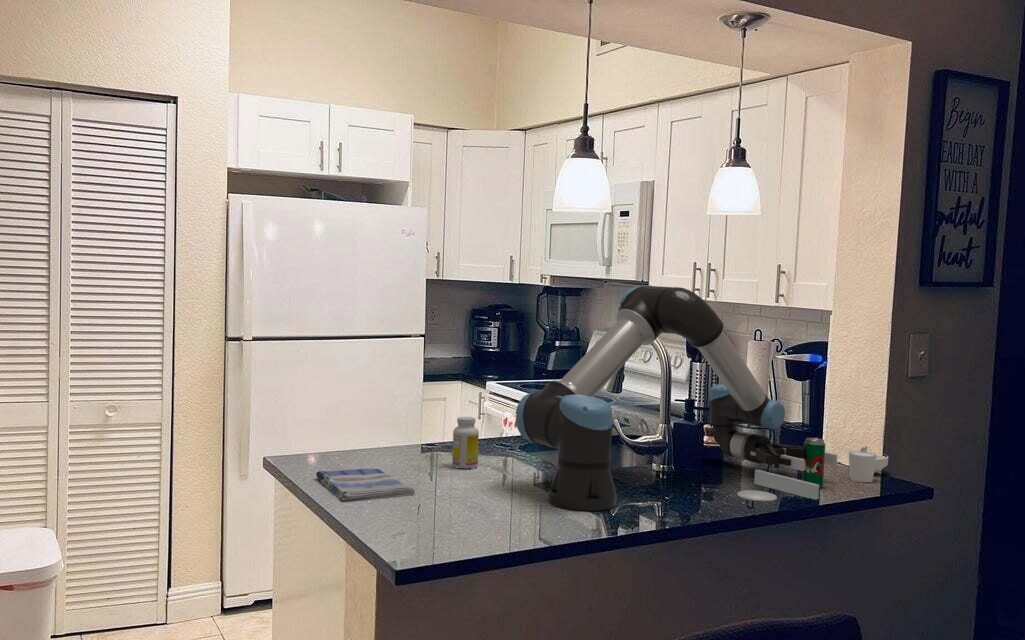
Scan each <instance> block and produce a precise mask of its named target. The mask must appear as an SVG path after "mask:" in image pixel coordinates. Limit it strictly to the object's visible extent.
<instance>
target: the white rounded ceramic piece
mask: <svg viewBox="0 0 1025 640" xmlns="http://www.w3.org/2000/svg"><path fill="white" fill-rule="evenodd" d="M864 447H865V448H864ZM849 452H867V453H868V451H867V446H863V447H861V449H860V451H856V450H854V449H853V450H848V453H849ZM871 454H872V453H871ZM888 464H889V455H887V457H885V456H877V457H876V463H875V469H874V474H878V473H879V472H881V471H882V470H883V469H884V468H885V467H887V466H888Z"/></svg>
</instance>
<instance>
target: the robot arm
mask: <svg viewBox="0 0 1025 640" xmlns="http://www.w3.org/2000/svg"><path fill="white" fill-rule="evenodd" d="M619 304H620V305H619V306H618V309H617V314H616V322H615V323H614V324H613V325H612V327H610V328H609V329H608V330H607V331H606V333H605V334H604V335H603V336H602V337H601V338H599V340H598V341H597V342H595V344H593V346H592V347H591V348H590V349H589V350H588V351H587V352H586V353H585V354H584V356H582V357H581V358H580V359H579V360H578V361H577V363H575V365H573V366H572V367H571V369H570V370H569V371H568V372H567V373H566V374H564V376H563V377H562V378H561V379H560V380H551V381H550V382H548V383H547V384H546V385H545V386H544V388H542V390H541V391H540V392H537V391H534V392H529V393H527V394H525V395H524V396H523V397H522V398H521V399H520V400H519V402H518V404H517V406H516V410H515V425H516V428H517V430H518V433H519V434H520V435H521V436H522V437H523V438H524V439H526V440H527V441H530V442H532V443H533V444H536V445H543V446H546V447H549V448H553V449H556V450H558V456H557V457H558V458H557V459H558V460H557V468H556V471H555V474H554V476H553V480H552V482H551V484H550V487H549V491H548V502H549V503H550V504H552V505H554V506H556V507H559V508H563V509H567V510H575V511H593V512H594V511H604V510H608V509H612V508H614V507H616V506H617V499H618V498H617V496H618V495H617V490H616V487H615V483H614V480H613V476H612V472H611V457H612V456H611V454H612V437H613V436H612V435H613V423H614V420H613V410H612V406H611V405H610V403H608V402H607V401H605V400H603V399H602V398H599V397H595V396H597V394H598V393H599V392H600V391H601V390H602V389H603V388H604V386H605V385H606V384H608V382H610V380H611V379H612V378H613V377H614V376H615V375H616V374H617V373H618V372H619V370H620V369H621V368H623V366H624V365H625V364H626V363H627V362H628V360H629V359H630V358H632V356H633V355H635V353H636V352H637V351H638V350H639V349H640V348H641V347H642V346H650V345H652V344H653V343H654V342H655V340H656V339H658V337H659V336H660V335H661V334H672V335H673V334H675V335H678V336H680V337H682V338H684V339H685V340H686V341H687V342H688V344H689V345H690V346H691V347H693V348H697V349H698V351H699V352H700V353H701V355H702V356H703V357H704V359H705V361H706V362H707V363H708V365H709V366H710V368H711V369H712V370H713V372H714V373H715V374H716V376H717V377H718V378H719V380H720V381H721V384H713V385H712V386H711V387H710V389H709V390H710V392H709V424H708V425H707V426H711V427H712V426H713V428H714V429H716V433H714V439H715V441H716V442H717V443H718V444H719V445H720V447H721V450H722V455H723V456H726V457H732V458H734V459H735V458H736V459H740V462H744V461H747V462H748V461H749V462H752V463H755V464H759V465H761V464H765V465H767V466H769V467H770V466H773V467H774V469H779V468H780V466H781V467H784V468H789V469H793V470H797V471H802V472H803V471H804V466H805V460H804V459H803V455H804V446H799V445H789V444H784V443H780V444H779V443H772V442H771V439H769V437H768V436H766V435H763V434H757V433H753V432H749V431H744V430H738V423H740V424H745V425H749V426H750V425H751V426H755V427H758V428H762V429H766V428H767V429H777V428H780V427H781V425H782V424H783V423H784V420H785V418H786V417H785V415H786V410H785V409H786V408H785V406H784V404H783V403H782V402H780V401H778V400H776V399H770V398H769V397H768V395H767V394H766V391H764V390H763V388H762V387H761V384H760V383H759V382H758V380H757V379H756V377H755V376H754V375H753V373H752V372H751V370H750V368H749V367H748V366H747V364H746V363H745V361H744V359H742V357H741V355H740V353H739V352H738V351H737V349H736V348H735V346H734V344H733V343H732V341H731V340H730V339H729V337H728V336H727V335H726V333H725V332H724V330H725V329H724V328H725V325H724V323H723V321H722V320H721V318H720V317H719V315H718V314H717V313H716V311H715V310H714V308H712V307H711V306H710V304H708V303H707V301H705V300H704V299H703V298H702V297H701V296H699V295H698V294H696V293H695V292H693V291H692V290H690V289H686V288H684V287H679V286H676V287H674V286H673V287H672V286H659V285H658V286H657V285H648V284H646V285H641V286H639V285H638V286H634V287H631V288H630V289H628V290H627V291H626V292H625V293H624V294H623V295H622V297H621V298H620V301H619ZM824 464H828V465H832V466H837V465H838V454H836V453H831V452H826V451H825V462H824Z"/></svg>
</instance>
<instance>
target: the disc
mask: <svg viewBox="0 0 1025 640" xmlns="http://www.w3.org/2000/svg"><path fill="white" fill-rule="evenodd" d="M737 497H739V498H741V499H744V500H749V501H754V502H765V503H766V502H773V501H774V502H775V501H777V500H778V499H777V497H778V496H777V495H776V494H774V493H772V492H768V491H764V490H753V489H747V490H746V489H745V490H740V491H738V492H737Z"/></svg>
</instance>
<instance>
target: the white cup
mask: <svg viewBox="0 0 1025 640" xmlns="http://www.w3.org/2000/svg"><path fill="white" fill-rule="evenodd" d="M876 457H877V455H875V454H871V453H867V452H849V451H848V461H849V462H848V466H849V467H848V469H849V470H848V471H849V480H850V481H852V482H856V483H862V482H871V483H873V482H872V481H874V474H875V473H874V469H875V463H876Z"/></svg>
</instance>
